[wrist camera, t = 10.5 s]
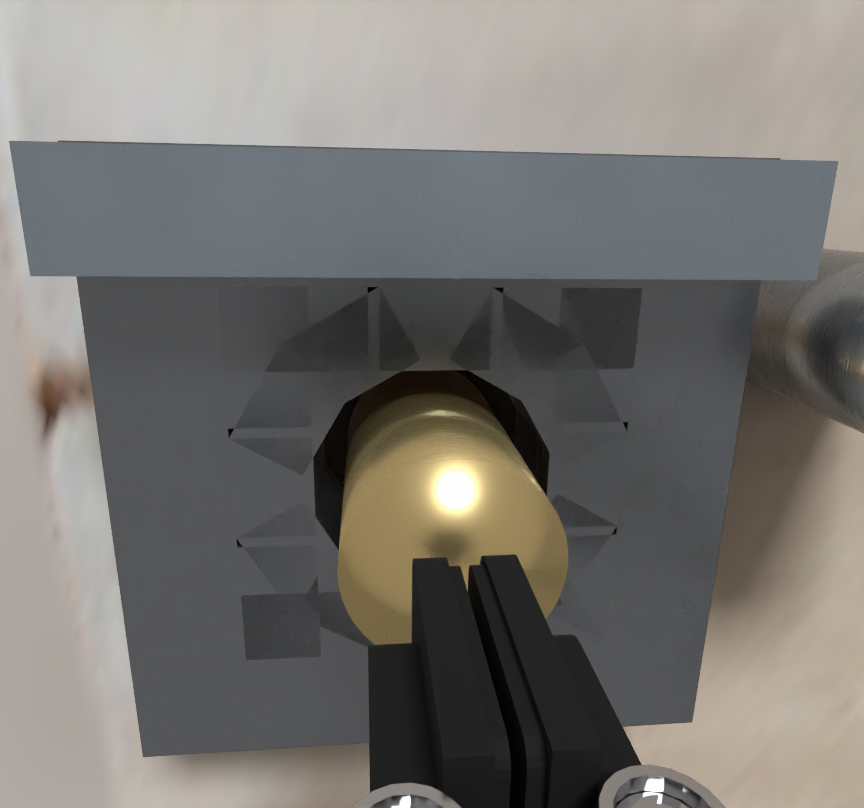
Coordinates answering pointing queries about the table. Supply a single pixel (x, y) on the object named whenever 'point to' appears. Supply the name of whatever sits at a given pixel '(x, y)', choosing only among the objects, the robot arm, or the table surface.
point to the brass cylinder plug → (436, 499)
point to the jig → (388, 355)
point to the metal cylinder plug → (814, 339)
